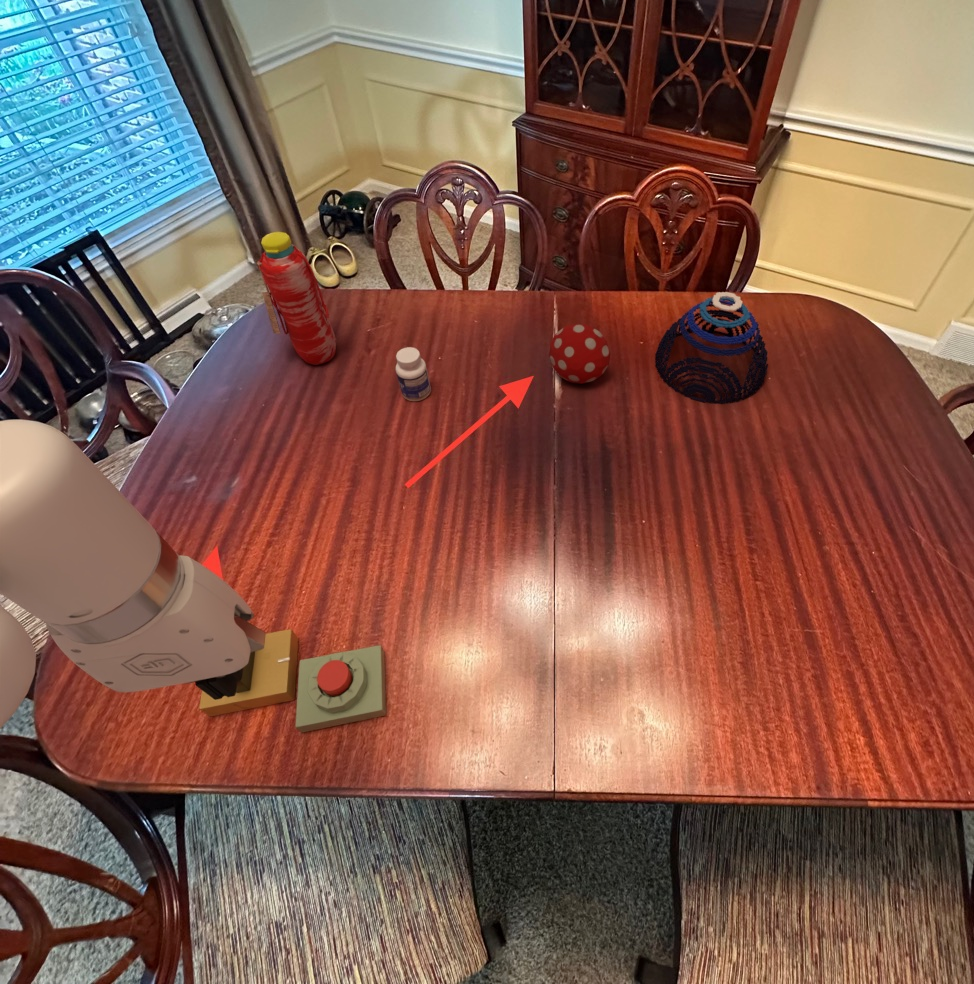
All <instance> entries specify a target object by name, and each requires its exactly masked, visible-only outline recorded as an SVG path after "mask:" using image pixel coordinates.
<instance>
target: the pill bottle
mask: <svg viewBox="0 0 974 984" xmlns="http://www.w3.org/2000/svg"><path fill="white" fill-rule="evenodd" d="M395 358H396V365H395V373H396V377H397V380H398V384H399V388H400V392H401V395H402V397H403V398H404V399H405V400H407V401H410V402H421V401H423V400H424V399H426V398H427V397H428V396H429V395H430V394H431V392H432V387H431V383H430V378H429V373H428V368H427V364H426V363H427V362H426V361H425V360H424V359H423V358H422V357H421V353H420V351H419V349H417V348H416V347H412V346H407V347H403V348H400V350H398V351H397V353H396V354H395Z"/></svg>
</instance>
